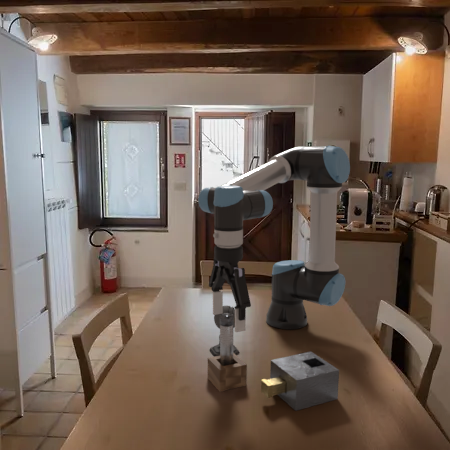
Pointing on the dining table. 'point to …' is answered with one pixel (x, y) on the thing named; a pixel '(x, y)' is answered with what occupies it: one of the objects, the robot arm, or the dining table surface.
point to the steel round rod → (226, 339)
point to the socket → (306, 379)
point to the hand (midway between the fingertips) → (228, 322)
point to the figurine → (226, 309)
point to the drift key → (273, 386)
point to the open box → (227, 373)
